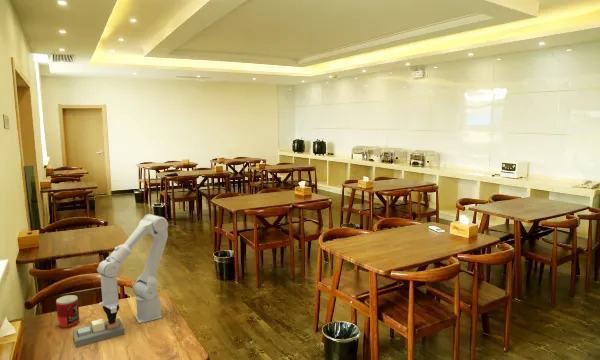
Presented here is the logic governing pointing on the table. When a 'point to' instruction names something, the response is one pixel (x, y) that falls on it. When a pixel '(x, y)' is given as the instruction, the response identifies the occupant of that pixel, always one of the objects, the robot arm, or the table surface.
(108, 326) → the key terracotta
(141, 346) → the table surface
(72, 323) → the canned food
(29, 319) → the table surface
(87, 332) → the key slate
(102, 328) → the key ivory
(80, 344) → the keypad base
